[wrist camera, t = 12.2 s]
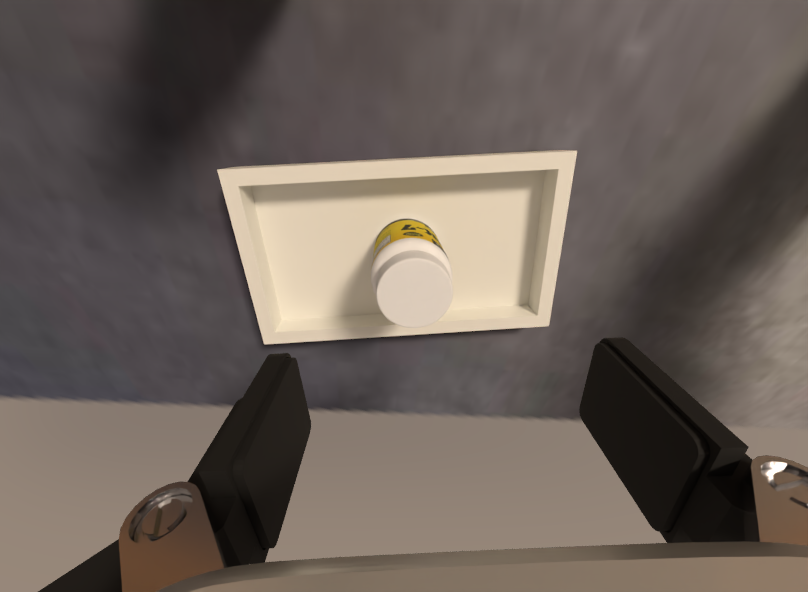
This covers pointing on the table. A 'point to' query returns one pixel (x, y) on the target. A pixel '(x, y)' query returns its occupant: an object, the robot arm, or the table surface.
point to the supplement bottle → (411, 274)
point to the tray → (378, 206)
